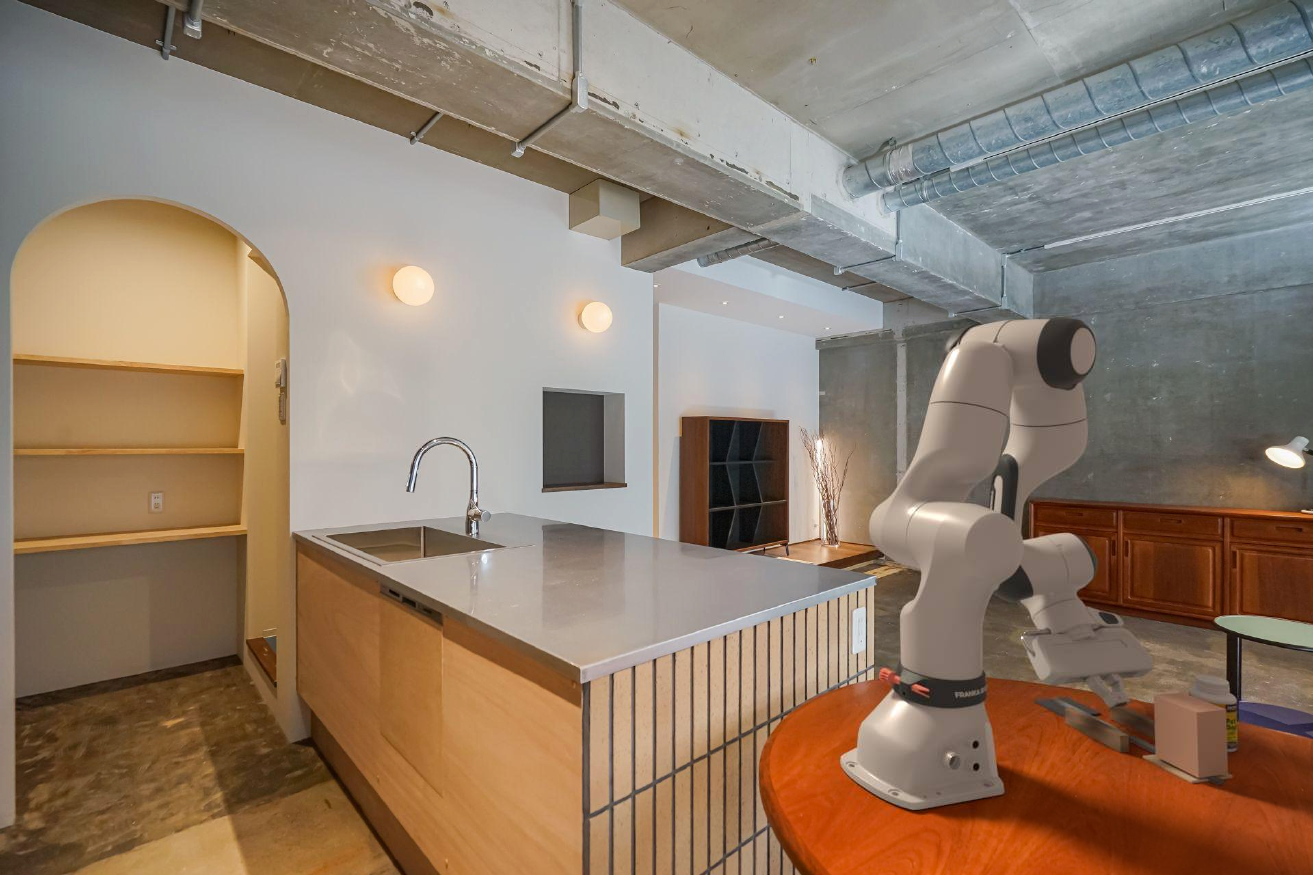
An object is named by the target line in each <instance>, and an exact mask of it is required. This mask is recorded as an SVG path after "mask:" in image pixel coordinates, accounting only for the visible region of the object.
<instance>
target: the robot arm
mask: <svg viewBox="0 0 1313 875" xmlns="http://www.w3.org/2000/svg"><path fill="white" fill-rule="evenodd" d="M941 357H942V358H941V360H942V365H941V367H940V369H939V372H938V374H937V376H936V380H935V382H934V385H933V387H932V391H931V395H930V399H929V402H928V407H927V410H926V413H925V417H924V421H923V422H924V424H923V425H922V430H921V433H920V437H919V440H918V444H917V449H916V451H915V454H914V456H913V458H912V460H911V462H910V465H909V466H908V469H907V470H906V472H905V474H904V475H903V477H902V479H901V480H900V482H899V484H898V485H897V486H896V488H895V490H894V491H893V492H892V493H891V494H890V496H888V498H886V499H885V500H884V501H882V502H881V503H880V504H879V505H878V506H877V505H876V506H877V507H876V508H875V509H874V510H873V511H872V513H871V516H870V519H869V524H868V532H869V537H870V540H871V541H872V544H873V545H874V546H875V548H876V549H877V550H878V551H879V552H881V553H882V554H884V555H885V556H886V557H888V558H890V559H891V560H892V561H894V562H896V563H898V564H901V565H904V566H907V567H911V568H915V569H918V570H920V574H921V577H920V583H919V587H918V591H917V593H916V595H915V598H914V599H912V600H910V601H909V602H907V603H906V604H905V605H903V607H902V609H901V611H900V615H899V630H900V631H899V634H900V641H899V642H900V659H899V660H898V662H897V665H896V667H895V668H896V669H895V671H891V670H890V669H888V668H886V667H883V668H881V669H880V670H879V671H880V672H878V674H879V675H878V677H879V680H880V681H881V682H883V683H886V684H888V685H889V686H891V689H890V691H889V693H887V695H886V696H885V697H884V698H883V699H881V702H880V703H878V704H877V706H876V707H875V708H874V709H873V710H872V711H871V712H870V714H868V716H866V717H865V719H864V720H863V721H862V722H861V723H860V725H859V729H858V734H857V742H856V743H857V744H856V747H855V748H853V749H851V750H849V751H847V752H845V753H844V754H842V755H841V756H840V761H839V762H840V766H841V768H842V770H843V771H844V773H846V774H847V776H849V778H850V779H852V780H853V781H855V782H856V783H857V784H859V786H861V787H863V788H865V789H866V790H867V791H869V792H871V793H872V794H874V795H875V796H877V797H879V798H881V799H883V800H885V801H887V802H889V803H891V804H893V805H896V806H899V807H901V808H905V809H908V810H911V811H916V810H917V811H919V810H924V809H929V808H935V807H940V806H945V805H946V806H947V805H951V804H957V803H962V802H967V801H973V800H979V799H983V798H989V797H995V796H1001V795H1004V794H1005V786H1004V785H1005V784H1004V782H1003V780H1002V778H1000V777H999V772H998V767H997V757H996V749H995V742H994V741H995V740H994V735H993V728H992V724H991V722H990V720H989V716H988V714H987V710H986V707H985V701H986V700H987V697H988V695H987V693H988V692H987V690H988V682H987V674H986V672H985V670H984V669H983V629H984V628H983V626H984V620H985V615H986V610H987V608H988V605H989V602H990V600H991V598H992V595H994V596H996V597H998V598H1000V599H1002V600H1004V601H1007V602H1009V603H1017V602H1020V603H1021V604H1022V605H1023V606H1024V607H1025V608H1026V609H1027V610H1028V612H1029V614H1030V618H1031V620H1032V622H1033V624H1034V625H1035V627H1036V629H1027V630H1024V631H1023V633H1021V637H1020V641H1021V643H1022V645H1023V646H1024V648H1025V650H1026V653H1027V656H1028V658H1029V661H1030V664H1031V665H1032V667H1033V669H1034V671H1035V673H1036V676H1037V677H1038V679H1039V680H1040V681H1041V682H1042V683H1044V684H1045V685H1047V686H1059V685H1071V684H1080V683H1085V685H1086V686H1087V687H1088V689H1089V690H1090V691H1092V692H1093V693H1094V694H1096V695H1097V696H1098V697H1099V698H1102V700H1103V702H1104V703H1105V705H1106V706H1107V707H1108V708H1110V707H1118V706H1125V707H1127V705H1129V704H1131V701H1130V698H1129V697H1128V695H1127V694H1126V693H1125V686H1124V681H1123V679H1132V678H1142V677H1144V676H1146V675H1147V674H1149V673H1150V672H1151V671H1153V670H1154V661H1153V659H1152V657H1151V656H1150V655H1149V653H1148V651H1147V650H1146V649H1145V647H1143V645H1142V644H1141V643H1140V641H1139V640H1138V639H1137V638H1136V636H1135V635H1134V634H1133V632H1132V633H1131V631H1129V630H1128V629H1126V628H1125V627H1122V626H1124V624H1125V623H1124V621H1123V619H1122V618H1121V617H1120V615H1118V614H1116V613H1113V612H1107V611H1104V610H1099V609H1096V608H1093V607H1091V606H1086V605H1085V604H1084V602H1083V601H1082V600H1081V599H1080V598H1079V597H1078V593H1077V592H1078V591H1080V590H1082V589H1084V588H1086V587H1087V586H1088V585H1089V584H1090V583H1091V582H1092V581H1093V580H1094V578H1095V577H1096V574H1097V572H1098V570H1099V569H1098V566H1099V563H1098V562H1099V561H1098V558H1097V555H1096V554H1095V552H1094V551H1093V549H1092V547H1090V545H1089V544H1088V543H1087V542H1086V541H1085V540H1084V539H1083V538H1081V537H1080V536H1078V535H1076V534H1075V533H1074V534H1073V533H1071V532H1062V533H1054V534H1047V535H1042V536H1041V535H1040V536H1038V537H1034V538H1029V539H1023V536H1022V525H1023V513H1024V506H1025V503H1026V500H1027V499H1028V497H1029V496H1030V495H1031V493H1032V492H1033V491H1034V490H1036V488H1038V487H1039V486H1040V485H1041V484H1043V483H1045V482H1047V481H1048V480H1049V479H1052V477H1054V476H1057V475H1059V474H1060V473H1062V472H1064V471H1066V470H1067V469H1069V468H1071V466H1073V465H1074V464H1075V463H1076V462H1077V461H1079V459H1080V458H1081V457H1082V456H1083V454H1084V453H1085V451H1086V449H1087V448H1086V447H1087V443H1088V436H1089V435H1088V434H1089V431H1088V430H1089V428H1088V417H1087V416H1088V414H1087V406H1086V405H1087V404H1086V398H1085V393H1084V387H1083V383H1082V382H1083V381H1084V380H1085V379H1086V378H1087V376H1088V375H1089V374H1090V373H1091V372H1092V370H1093V367H1094V366H1095V362H1096V358H1097V342H1096V337H1095V334H1094V332H1093V331H1092V329H1091V328H1090V327H1089V326H1088V325H1087V324H1086V323H1085V322H1084V321H1083V320H1081V319H1079V318H1073V317H1063V316H1055V317H1051V318H1050V319H1049V318H1040V319H1039V318H1033V319H1032V318H1029V319H1028V318H1027V319H1015V318H1014V319H1013V318H1012V319H1007V320H999V321H994V322H993V321H992V322H990V323H984V324H981V325H980V324H972V325H968V326H965V327H962V328H960V329H958V330H955V331H954V332H953V333H952V334H951V335H950V336H949V338H948V339H947V341H946V343H945V344H944V347H943V350H942V354H941ZM1008 421H1009V425H1010V426H1009V436H1008V440H1007V443H1006V445H1005V448H1004V450H1003V452H1002V447H1003V443H1004V438H1005V434H1006V430H1007V427H1008V426H1007V425H1008ZM1001 452H1002V454H1001ZM988 477H991V478H990V483H989V494H988V503H987V505H988V506H987V507H986V506H983V505H981V504H976V503H972V502H971V503H970V502H965V501H966V500H967V497H968V496H969V494H971V492H972V490H974V489H975V487H976V486H977V485H978V484H979V483H981V482H982V481H983V480H985V479H987V478H988ZM1103 683H1105V684H1106V686H1105V685H1104V684H1103ZM1107 686H1108V687H1110V688H1111V690H1110V689H1108V688H1107Z"/></svg>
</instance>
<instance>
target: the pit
mask: <svg viewBox="0 0 1313 875" xmlns="http://www.w3.org/2000/svg"><path fill="white" fill-rule="evenodd" d="M1056 698H1057V699H1059V700H1061V701H1064V702H1066V703H1068V704H1070V705H1072V706H1074V707H1076V708H1078V709H1080V710H1082V711H1084V712H1086V713H1088V714H1090V715H1092V716H1094V717H1095V716H1101V715H1102V712H1100V711H1097V710H1095V709H1093V708H1091V707H1089V706H1087V705H1084V703H1083V704H1082V703H1081V702H1079V701H1076V700H1075V699H1073V698H1071V697H1068V696H1061V697H1056ZM1033 702H1034V703H1036V704H1037V705H1039V706H1040V707H1041V706H1042V707H1044V708H1046V709H1048V710H1050V711H1051V712H1053V713H1055V714H1057V715H1059V716H1060V717H1063V718H1065V707H1063V706H1061V705H1059V704H1057V703H1055V702H1053V701H1051V700H1050V698H1040V699H1034V700H1033Z"/></svg>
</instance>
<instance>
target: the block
mask: <svg viewBox="0 0 1313 875" xmlns="http://www.w3.org/2000/svg"><path fill="white" fill-rule="evenodd" d="M1153 702H1154V703H1153V706H1154V707H1153V708H1154V710H1153V711H1154V712H1153V713H1154V720H1155V740H1154V746H1155V754H1156V757H1158V758H1160V759H1162V760H1164V761H1166V762H1168V763H1170V764H1172V765H1174V766H1176V767H1178V768H1180V769H1182V770H1184V771H1186V772H1188V773H1190V774H1192V775H1194V776H1196V777H1198V778H1202V777H1209V776H1217V775H1224V774H1229V772H1228V771H1229V769H1228V767H1229V766H1228V752H1227V724H1226V709H1224V708H1221V707H1219V706H1216V705H1214V704H1211V703H1208V702H1206V701H1203V700H1200V699H1198V698H1195V697H1193V696H1190V695H1189V694H1187V693H1185V692H1173V693H1164V694H1163V693H1162V694H1154V695H1153Z"/></svg>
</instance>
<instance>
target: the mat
mask: <svg viewBox="0 0 1313 875" xmlns="http://www.w3.org/2000/svg"><path fill="white" fill-rule="evenodd" d="M1142 759H1144V760H1146V761H1148V762H1150V763H1151V764H1154V765H1155V766H1158V767H1159V768H1160V769H1163V770H1165V771H1167V772H1169V773H1171V774H1173V775H1175V776H1177V777H1179V778H1180V779H1183V780H1184V781H1186V782H1189V783H1190V784H1196V783H1204V782H1210V781H1209V779H1208V778H1206V777H1202V778H1198V777H1196V776H1194V775H1192V774H1190V773H1188V772H1186V771H1184V770H1182V769H1180V768H1178V767H1176V766H1174V765H1172V764H1170V763H1168V762H1166V761H1164V760H1162V759H1160V758H1158V757H1156V754H1154V753H1153V754H1148V755H1146V754H1145V755H1142ZM1217 777H1219V778H1221V779H1224V780H1226V779H1232V778H1233V777H1234V775H1232V774H1230V773H1228V774H1224V775H1217Z"/></svg>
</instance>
